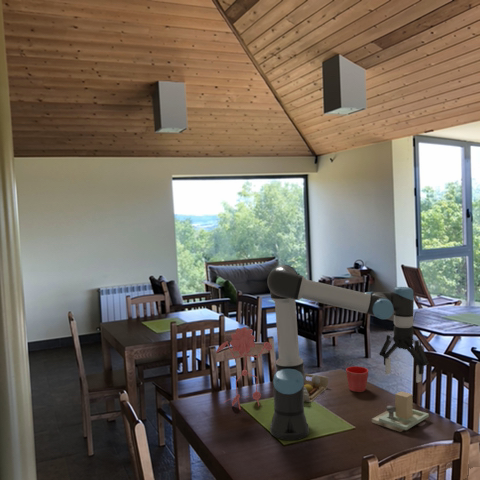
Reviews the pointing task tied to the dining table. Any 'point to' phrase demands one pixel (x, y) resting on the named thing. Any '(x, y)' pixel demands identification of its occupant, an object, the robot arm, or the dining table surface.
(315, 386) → the toy food set
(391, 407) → the board
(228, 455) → the dining table surface
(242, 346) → the pink tall branching figurine
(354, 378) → the flower pot
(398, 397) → the upright block on base
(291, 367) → the robot arm
